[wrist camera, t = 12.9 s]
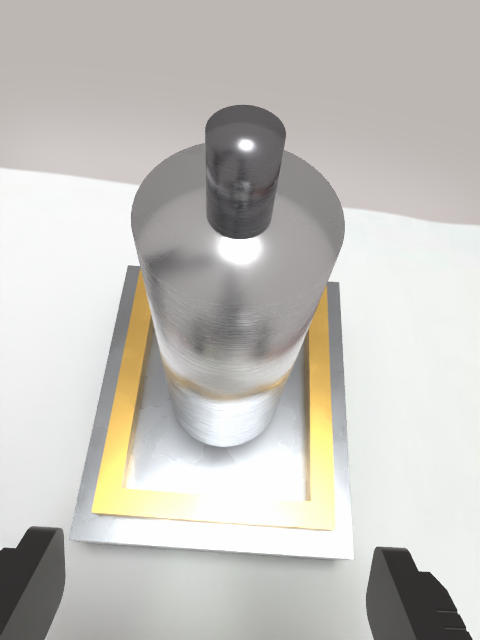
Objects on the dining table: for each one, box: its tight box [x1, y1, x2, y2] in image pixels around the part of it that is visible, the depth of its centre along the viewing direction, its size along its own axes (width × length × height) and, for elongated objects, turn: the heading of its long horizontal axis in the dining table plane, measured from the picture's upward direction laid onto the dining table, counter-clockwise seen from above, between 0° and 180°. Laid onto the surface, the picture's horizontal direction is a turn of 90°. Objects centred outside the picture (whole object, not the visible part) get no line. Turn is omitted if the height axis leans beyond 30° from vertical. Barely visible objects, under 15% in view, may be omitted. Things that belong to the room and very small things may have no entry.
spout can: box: [131, 105, 345, 447], centre depth 16 cm, size 5×5×15 cm
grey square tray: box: [69, 265, 354, 560], centre depth 23 cm, size 12×14×4 cm
